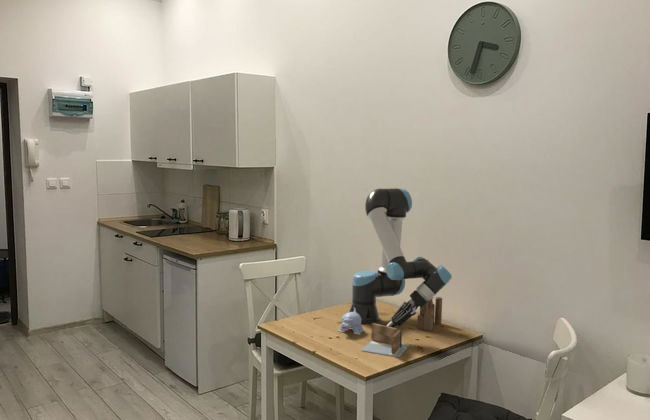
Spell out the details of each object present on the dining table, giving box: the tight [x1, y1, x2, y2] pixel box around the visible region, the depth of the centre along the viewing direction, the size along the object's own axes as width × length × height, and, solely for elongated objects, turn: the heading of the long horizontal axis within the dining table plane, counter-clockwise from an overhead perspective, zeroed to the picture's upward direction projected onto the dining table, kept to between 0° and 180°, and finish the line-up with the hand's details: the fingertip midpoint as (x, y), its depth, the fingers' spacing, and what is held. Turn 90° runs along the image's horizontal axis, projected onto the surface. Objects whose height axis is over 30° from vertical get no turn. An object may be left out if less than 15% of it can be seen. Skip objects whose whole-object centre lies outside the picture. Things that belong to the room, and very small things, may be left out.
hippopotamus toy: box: [337, 308, 365, 335], centre depth 244 cm, size 11×15×10 cm
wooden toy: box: [416, 296, 443, 332], centre depth 254 cm, size 16×7×25 cm, turn 147°
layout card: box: [361, 340, 410, 358], centre depth 223 cm, size 16×15×1 cm
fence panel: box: [370, 322, 399, 345], centre depth 229 cm, size 12×1×7 cm, turn 53°
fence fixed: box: [391, 329, 403, 354], centre depth 220 cm, size 2×11×8 cm, turn 157°
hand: (383, 334), depth 231 cm, fingers closed
